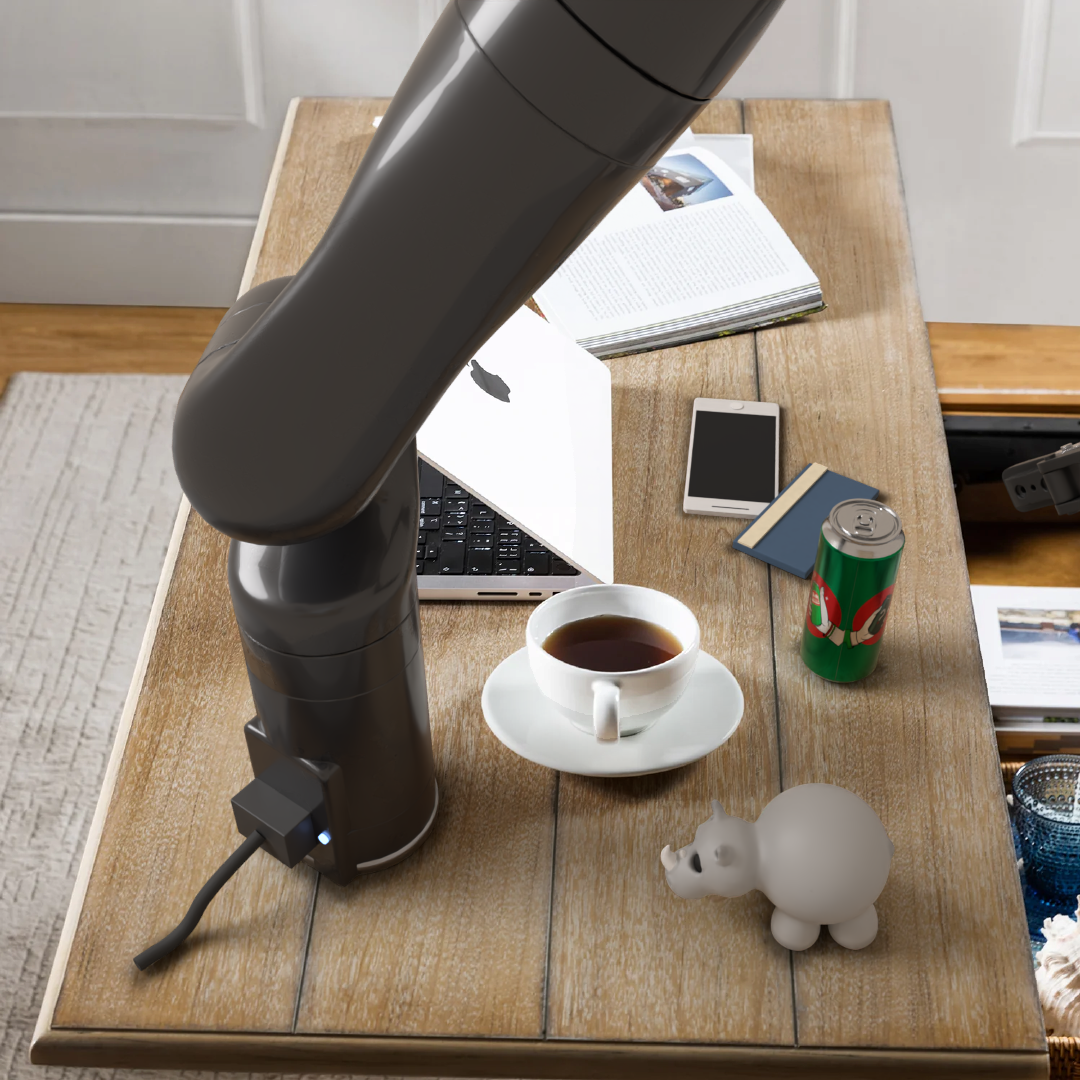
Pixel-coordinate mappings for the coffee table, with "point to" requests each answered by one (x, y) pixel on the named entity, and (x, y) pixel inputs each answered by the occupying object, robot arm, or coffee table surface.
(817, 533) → the notebook
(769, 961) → the coffee table surface
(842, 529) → the soda can
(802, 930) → the toy rhinoceros
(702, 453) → the smartphone
